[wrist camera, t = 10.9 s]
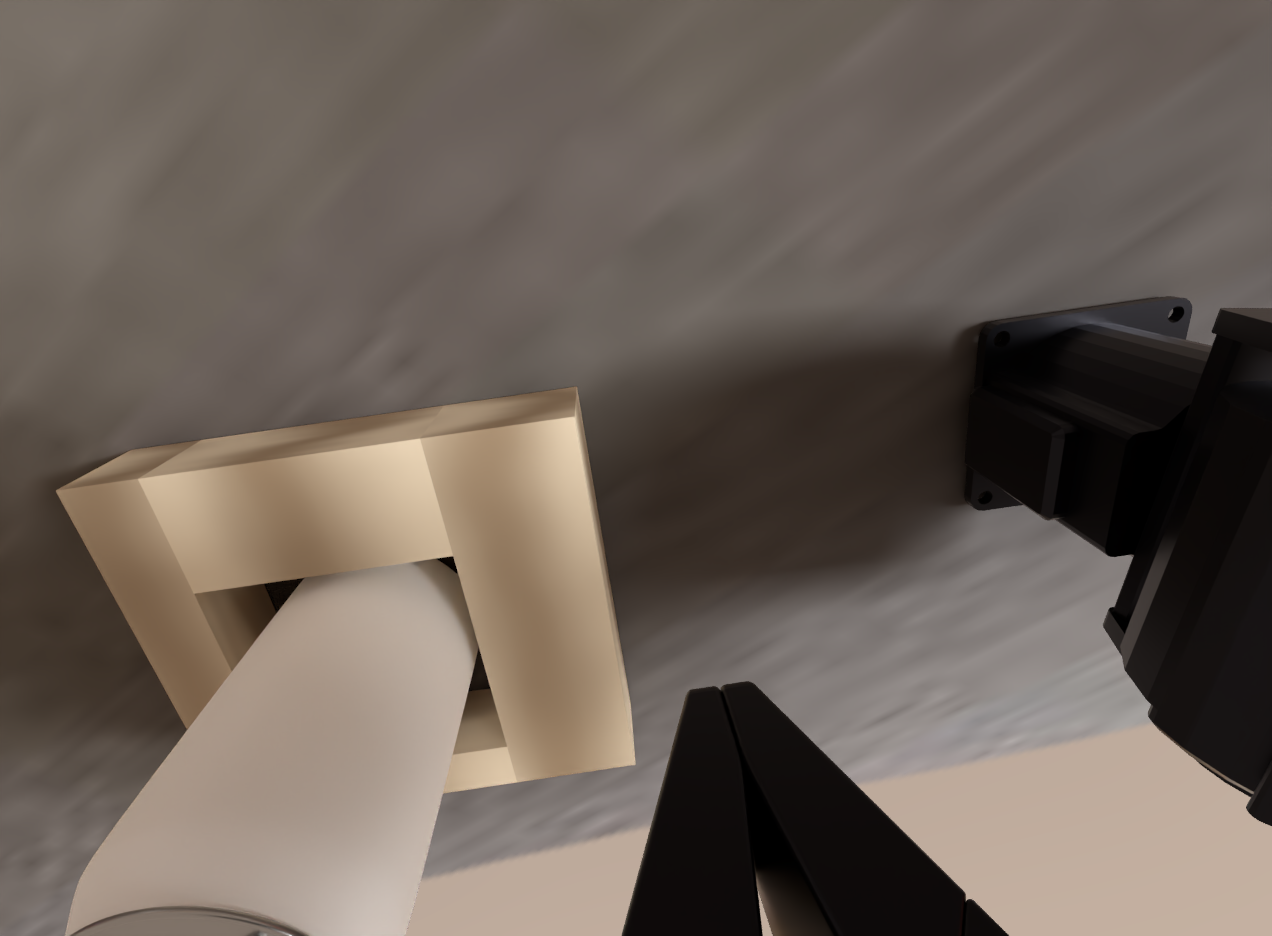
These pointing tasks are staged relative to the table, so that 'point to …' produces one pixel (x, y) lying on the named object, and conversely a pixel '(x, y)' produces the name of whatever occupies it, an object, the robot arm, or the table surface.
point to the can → (301, 773)
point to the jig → (384, 560)
